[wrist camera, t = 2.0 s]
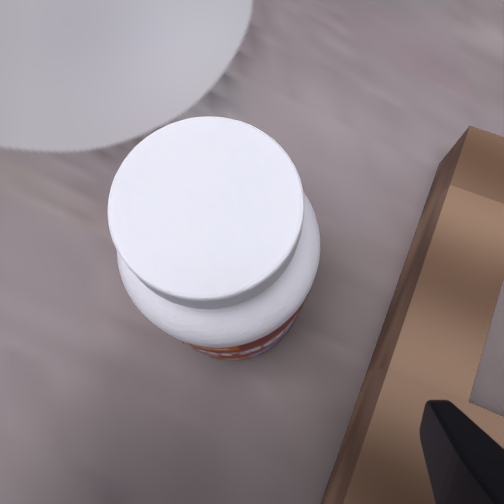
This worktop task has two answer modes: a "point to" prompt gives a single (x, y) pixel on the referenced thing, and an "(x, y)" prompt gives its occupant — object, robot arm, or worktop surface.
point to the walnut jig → (430, 331)
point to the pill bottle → (214, 235)
